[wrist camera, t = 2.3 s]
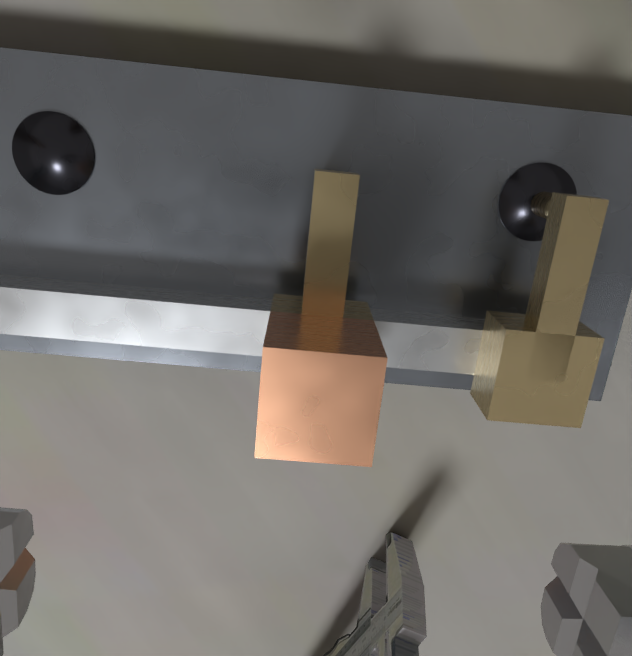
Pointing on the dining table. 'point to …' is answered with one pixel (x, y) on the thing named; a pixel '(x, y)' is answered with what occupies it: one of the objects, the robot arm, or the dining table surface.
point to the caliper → (388, 606)
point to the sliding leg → (322, 348)
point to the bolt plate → (294, 218)
